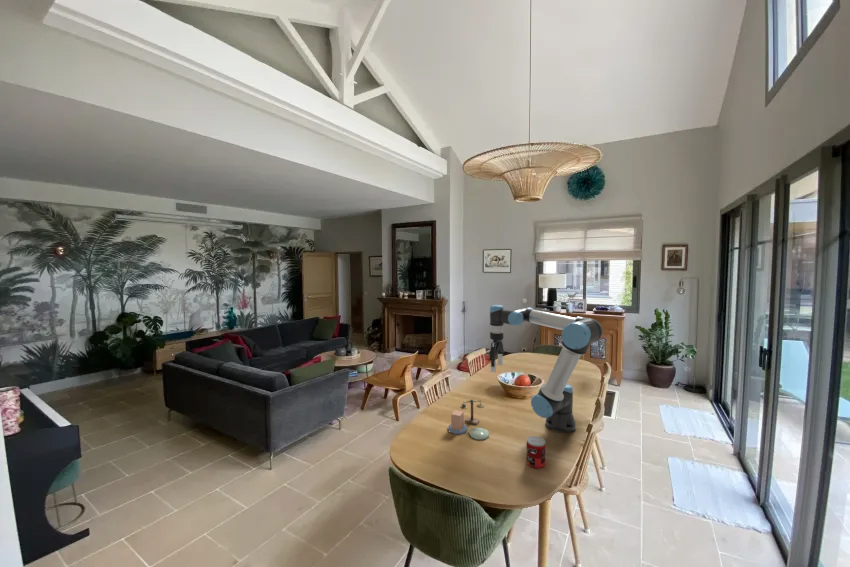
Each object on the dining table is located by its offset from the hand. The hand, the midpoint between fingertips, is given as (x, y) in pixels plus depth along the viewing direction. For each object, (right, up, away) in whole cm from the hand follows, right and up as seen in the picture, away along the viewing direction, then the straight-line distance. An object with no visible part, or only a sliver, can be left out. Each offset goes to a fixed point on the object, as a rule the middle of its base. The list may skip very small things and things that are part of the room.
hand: (496, 368), depth 204 cm
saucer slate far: (-24, -29, -16) cm, 41 cm away
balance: (-15, -28, -8) cm, 33 cm away
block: (-24, -28, -16) cm, 40 cm away
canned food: (+8, -31, -47) cm, 57 cm away
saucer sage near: (-13, -29, -22) cm, 39 cm away
